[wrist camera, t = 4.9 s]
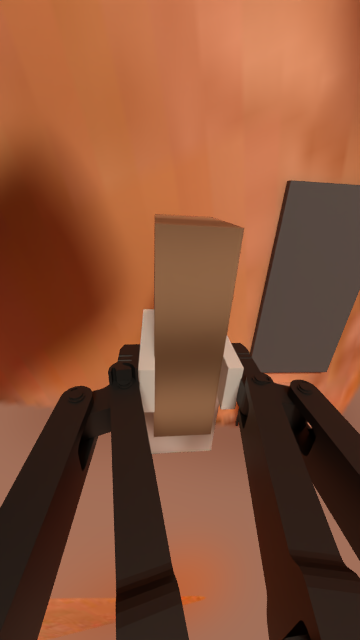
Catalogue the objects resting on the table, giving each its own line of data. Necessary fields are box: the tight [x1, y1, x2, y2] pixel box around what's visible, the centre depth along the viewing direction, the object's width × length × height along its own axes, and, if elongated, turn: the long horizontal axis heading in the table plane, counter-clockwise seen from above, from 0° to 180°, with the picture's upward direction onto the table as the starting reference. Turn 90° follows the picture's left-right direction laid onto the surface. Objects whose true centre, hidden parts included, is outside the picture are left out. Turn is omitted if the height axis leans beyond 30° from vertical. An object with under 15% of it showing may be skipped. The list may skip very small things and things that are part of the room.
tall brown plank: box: [144, 214, 244, 454], centre depth 17 cm, size 22×8×6 cm, turn 177°
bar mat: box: [250, 181, 360, 373], centre depth 25 cm, size 10×20×1 cm, turn 177°
